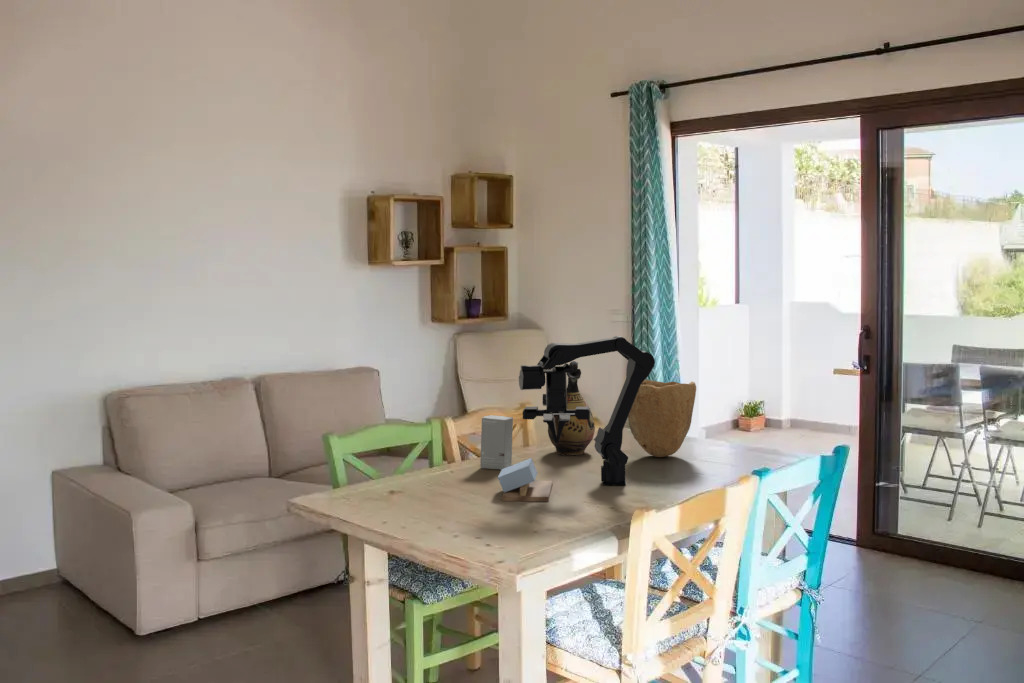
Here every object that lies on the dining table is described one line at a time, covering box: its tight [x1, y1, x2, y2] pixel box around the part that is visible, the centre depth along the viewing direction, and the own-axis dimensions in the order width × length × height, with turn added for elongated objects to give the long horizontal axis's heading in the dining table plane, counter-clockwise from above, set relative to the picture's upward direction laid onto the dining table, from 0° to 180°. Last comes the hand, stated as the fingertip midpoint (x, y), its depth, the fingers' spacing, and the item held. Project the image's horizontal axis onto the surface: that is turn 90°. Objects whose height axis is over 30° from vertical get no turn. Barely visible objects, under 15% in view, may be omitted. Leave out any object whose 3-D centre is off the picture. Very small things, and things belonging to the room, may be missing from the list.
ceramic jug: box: [547, 360, 596, 456], centre depth 322 cm, size 17×15×30 cm
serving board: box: [501, 480, 554, 502], centre depth 271 cm, size 12×18×3 cm
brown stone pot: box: [627, 379, 697, 458], centre depth 312 cm, size 22×22×25 cm
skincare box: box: [479, 414, 514, 471], centre depth 302 cm, size 8×7×16 cm
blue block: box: [497, 457, 538, 493], centre depth 271 cm, size 4×10×9 cm
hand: (556, 443), depth 276 cm, fingers closed
